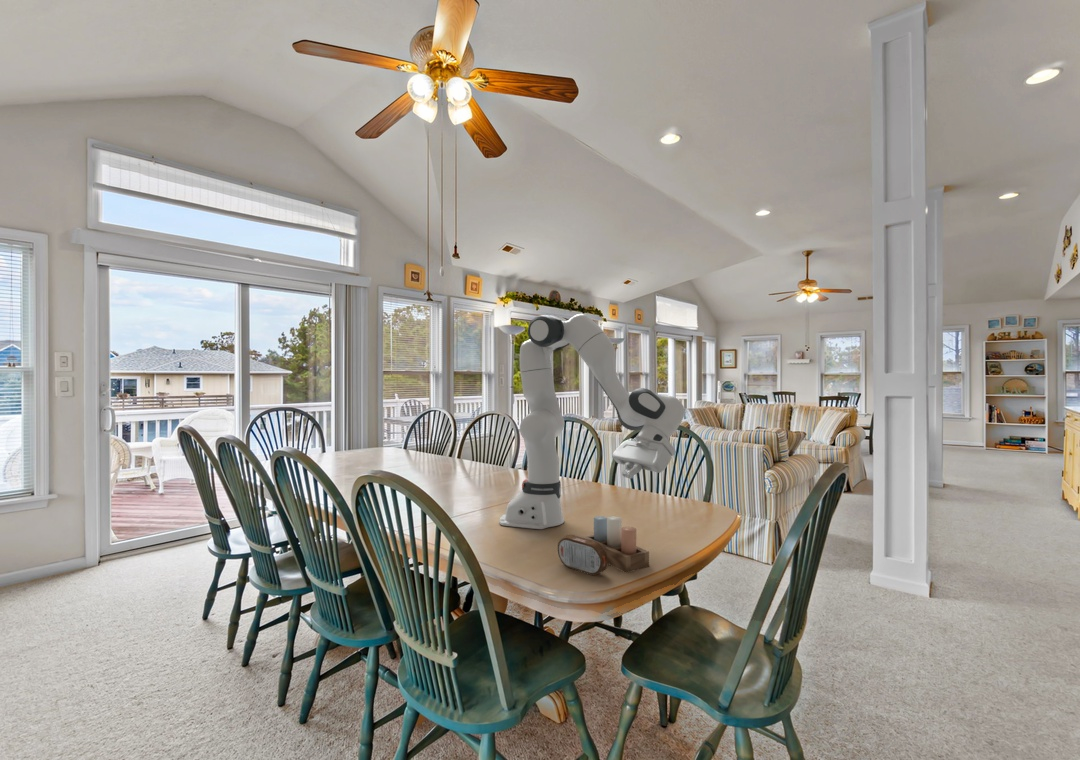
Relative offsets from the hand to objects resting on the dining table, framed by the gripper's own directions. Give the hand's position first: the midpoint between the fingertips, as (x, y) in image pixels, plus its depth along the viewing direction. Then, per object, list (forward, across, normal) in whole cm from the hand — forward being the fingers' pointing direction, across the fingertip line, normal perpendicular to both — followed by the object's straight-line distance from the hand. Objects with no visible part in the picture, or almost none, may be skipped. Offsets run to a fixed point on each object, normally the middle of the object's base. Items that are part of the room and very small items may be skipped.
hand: (626, 476), depth 151 cm
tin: (+31, +8, -1) cm, 32 cm away
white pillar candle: (+19, +6, +6) cm, 21 cm away
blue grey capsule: (+20, 0, +7) cm, 21 cm away
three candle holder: (+21, +6, +8) cm, 24 cm away
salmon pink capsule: (+20, +12, +7) cm, 24 cm away
